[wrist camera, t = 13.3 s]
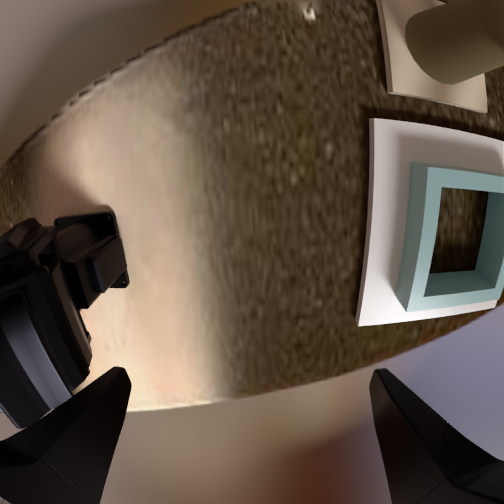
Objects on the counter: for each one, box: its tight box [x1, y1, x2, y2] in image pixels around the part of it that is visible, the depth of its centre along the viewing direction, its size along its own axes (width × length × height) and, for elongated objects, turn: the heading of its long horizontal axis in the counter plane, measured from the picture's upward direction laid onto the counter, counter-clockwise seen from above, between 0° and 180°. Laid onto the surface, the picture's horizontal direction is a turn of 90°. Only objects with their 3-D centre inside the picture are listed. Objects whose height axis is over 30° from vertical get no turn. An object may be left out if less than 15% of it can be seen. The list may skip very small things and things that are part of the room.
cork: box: [405, 0, 504, 85], centre depth 8 cm, size 6×6×11 cm
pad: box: [376, 0, 487, 113], centre depth 14 cm, size 9×9×1 cm
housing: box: [356, 118, 504, 326], centre depth 18 cm, size 16×16×4 cm
